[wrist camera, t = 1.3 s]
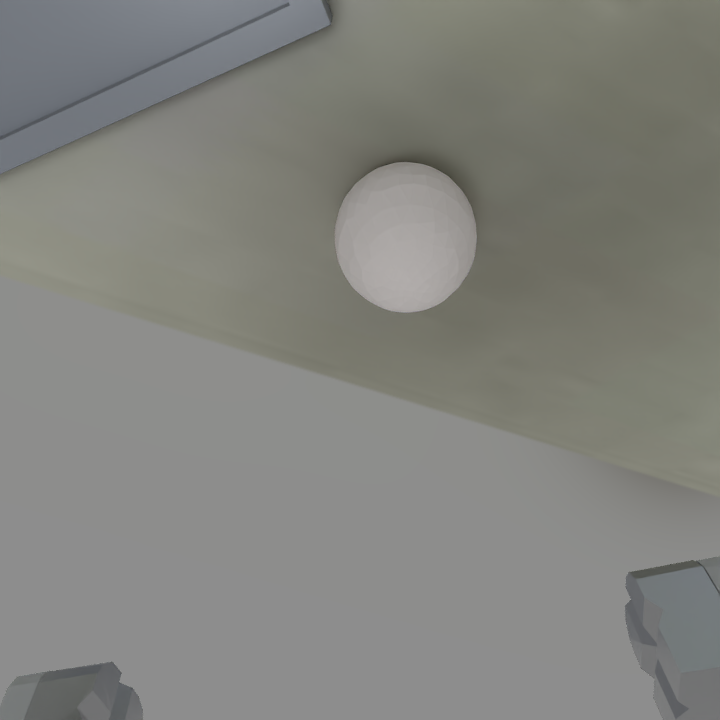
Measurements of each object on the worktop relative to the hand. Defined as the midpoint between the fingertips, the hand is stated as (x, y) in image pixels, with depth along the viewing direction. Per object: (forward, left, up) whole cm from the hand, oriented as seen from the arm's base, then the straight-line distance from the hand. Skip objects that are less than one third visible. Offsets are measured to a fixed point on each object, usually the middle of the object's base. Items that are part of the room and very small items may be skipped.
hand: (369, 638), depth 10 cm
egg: (-1, +3, -26) cm, 26 cm away
